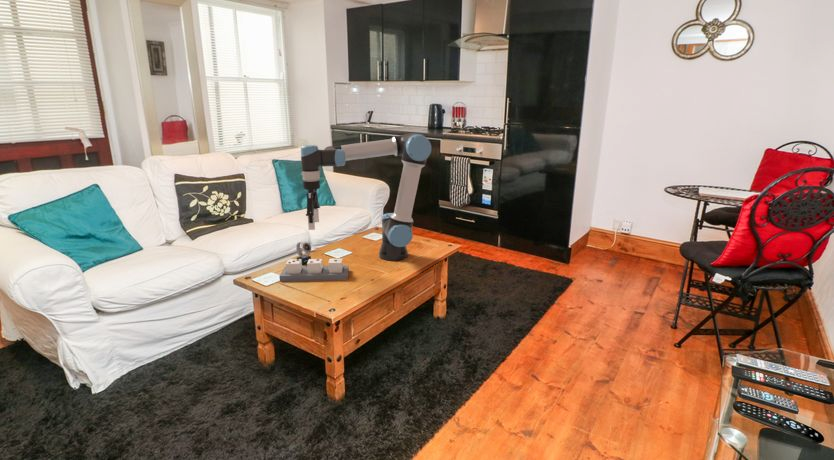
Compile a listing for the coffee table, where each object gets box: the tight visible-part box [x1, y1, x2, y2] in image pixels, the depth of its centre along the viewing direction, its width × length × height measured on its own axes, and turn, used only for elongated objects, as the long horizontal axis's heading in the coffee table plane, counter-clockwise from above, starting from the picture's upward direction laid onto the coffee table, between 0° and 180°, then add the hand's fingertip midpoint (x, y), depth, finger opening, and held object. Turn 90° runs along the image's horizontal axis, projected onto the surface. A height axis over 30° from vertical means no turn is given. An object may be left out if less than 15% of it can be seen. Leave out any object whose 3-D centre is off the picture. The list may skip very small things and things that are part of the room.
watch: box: [295, 240, 312, 266], centre depth 225 cm, size 6×8×11 cm
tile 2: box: [306, 258, 323, 274], centre depth 208 cm, size 6×6×5 cm
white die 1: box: [285, 258, 303, 274], centre depth 207 cm, size 6×6×5 cm
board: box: [279, 265, 350, 282], centre depth 209 cm, size 30×12×2 cm, turn 94°
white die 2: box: [327, 257, 344, 273], centre depth 209 cm, size 6×6×5 cm
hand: (314, 225), depth 209 cm, fingers open, 12 cm apart
